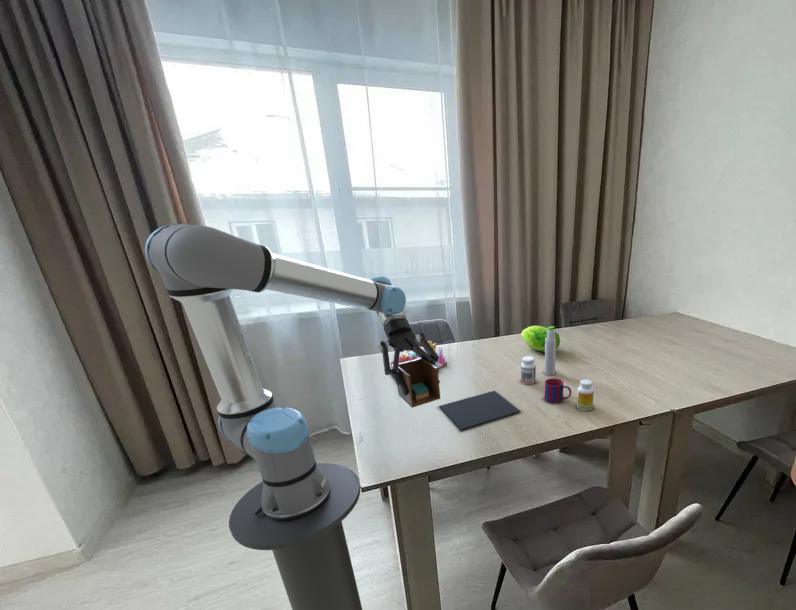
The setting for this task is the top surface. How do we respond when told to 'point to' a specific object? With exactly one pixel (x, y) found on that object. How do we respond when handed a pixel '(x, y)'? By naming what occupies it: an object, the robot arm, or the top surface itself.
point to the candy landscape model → (413, 356)
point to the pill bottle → (528, 370)
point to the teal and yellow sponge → (419, 389)
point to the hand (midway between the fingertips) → (422, 388)
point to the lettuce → (537, 337)
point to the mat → (478, 410)
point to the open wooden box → (419, 380)
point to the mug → (555, 390)
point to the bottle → (550, 351)
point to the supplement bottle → (585, 395)
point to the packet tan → (420, 396)
